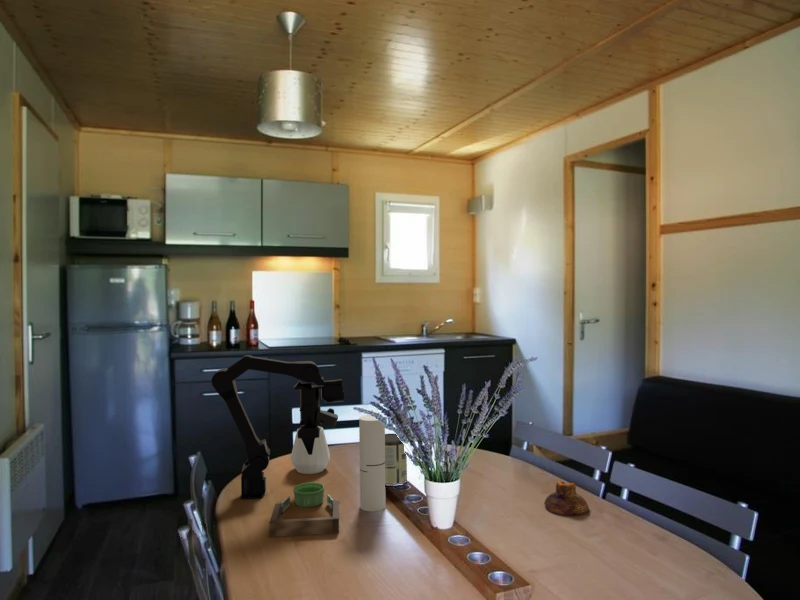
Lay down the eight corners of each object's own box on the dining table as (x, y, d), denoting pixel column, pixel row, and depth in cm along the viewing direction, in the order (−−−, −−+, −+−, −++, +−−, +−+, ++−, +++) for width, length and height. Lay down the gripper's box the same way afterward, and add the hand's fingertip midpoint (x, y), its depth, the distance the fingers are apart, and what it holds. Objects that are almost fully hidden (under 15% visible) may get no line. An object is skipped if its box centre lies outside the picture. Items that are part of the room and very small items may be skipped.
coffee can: (377, 476, 182) (376, 433, 182) (408, 476, 181) (408, 433, 181) (372, 486, 172) (372, 441, 172) (405, 487, 171) (405, 442, 171)
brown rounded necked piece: (535, 505, 156) (535, 479, 156) (567, 498, 162) (567, 473, 162) (565, 520, 146) (565, 492, 146) (598, 511, 152) (598, 485, 151)
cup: (283, 474, 185) (282, 432, 185) (301, 462, 198) (301, 423, 198) (320, 477, 181) (319, 434, 181) (336, 465, 194) (336, 425, 194)
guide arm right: (335, 511, 153) (335, 500, 153) (332, 512, 152) (332, 501, 152) (329, 504, 158) (329, 493, 158) (326, 504, 158) (326, 494, 158)
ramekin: (310, 494, 166) (310, 479, 166) (331, 501, 161) (331, 486, 161) (286, 503, 160) (286, 488, 159) (307, 511, 154) (307, 495, 154)
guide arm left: (282, 514, 151) (282, 503, 151) (279, 514, 151) (279, 503, 151) (290, 506, 157) (290, 495, 157) (287, 506, 157) (287, 495, 157)
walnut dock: (269, 536, 137) (269, 522, 137) (275, 516, 150) (275, 503, 150) (338, 532, 139) (338, 518, 139) (338, 513, 152) (338, 500, 152)
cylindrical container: (382, 512, 152) (381, 421, 152) (357, 510, 153) (356, 420, 153) (388, 502, 159) (387, 415, 159) (363, 501, 160) (363, 414, 160)
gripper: (336, 408, 161) (336, 462, 161) (336, 396, 179) (336, 445, 180) (297, 409, 160) (297, 464, 160) (301, 397, 178) (301, 446, 178)
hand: (310, 454), depth 169 cm, fingers closed
